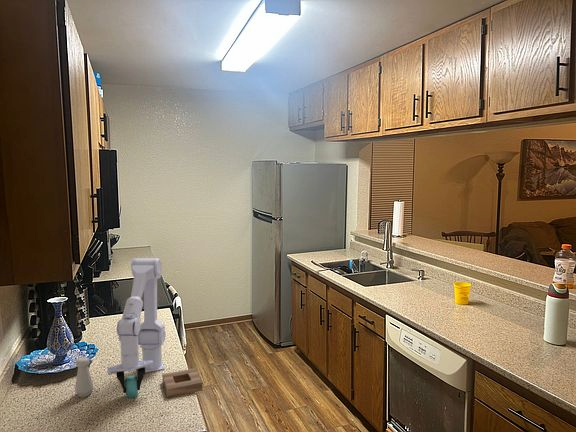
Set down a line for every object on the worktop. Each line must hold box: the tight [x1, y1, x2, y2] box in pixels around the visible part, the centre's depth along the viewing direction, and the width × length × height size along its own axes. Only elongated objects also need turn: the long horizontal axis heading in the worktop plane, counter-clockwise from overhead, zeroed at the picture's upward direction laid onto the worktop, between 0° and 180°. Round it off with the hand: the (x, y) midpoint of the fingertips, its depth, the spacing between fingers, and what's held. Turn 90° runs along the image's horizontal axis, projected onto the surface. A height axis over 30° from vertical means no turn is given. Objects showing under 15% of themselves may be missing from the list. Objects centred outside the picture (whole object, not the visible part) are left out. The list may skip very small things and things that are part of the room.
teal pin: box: [125, 375, 139, 399], centre depth 152 cm, size 4×4×6 cm
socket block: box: [162, 368, 203, 399], centre depth 158 cm, size 12×12×3 cm
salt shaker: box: [74, 356, 94, 398], centre depth 152 cm, size 6×6×13 cm
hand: (131, 390), depth 152 cm, fingers closed on teal pin, 4 cm apart
